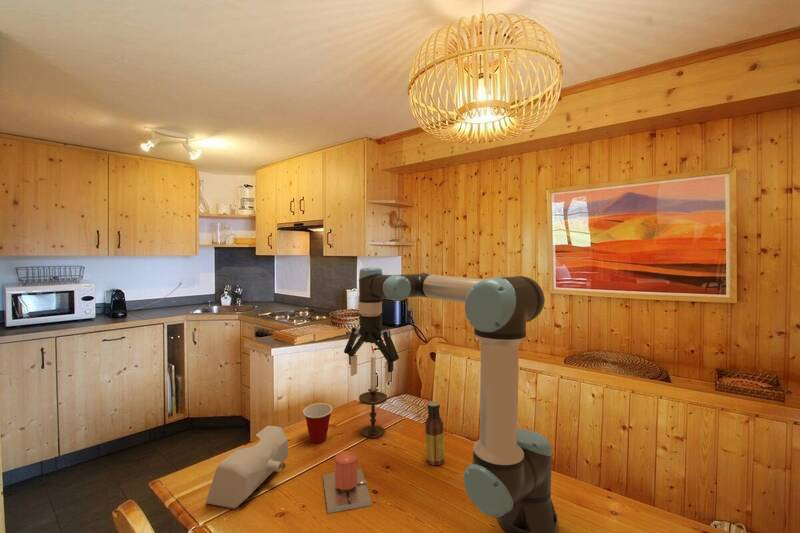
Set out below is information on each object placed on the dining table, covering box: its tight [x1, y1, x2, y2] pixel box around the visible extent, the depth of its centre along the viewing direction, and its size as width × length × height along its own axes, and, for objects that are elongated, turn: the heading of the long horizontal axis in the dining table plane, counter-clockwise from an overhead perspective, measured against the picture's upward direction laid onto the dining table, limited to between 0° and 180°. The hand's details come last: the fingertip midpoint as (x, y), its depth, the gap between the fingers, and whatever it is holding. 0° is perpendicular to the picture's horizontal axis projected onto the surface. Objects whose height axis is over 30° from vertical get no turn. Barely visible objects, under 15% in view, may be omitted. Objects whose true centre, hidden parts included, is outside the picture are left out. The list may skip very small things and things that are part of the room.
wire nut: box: [334, 450, 358, 490], centre depth 111 cm, size 6×6×8 cm
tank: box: [205, 425, 289, 510], centre depth 115 cm, size 25×16×12 cm, turn 167°
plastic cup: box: [302, 402, 333, 445], centre depth 141 cm, size 11×11×12 cm
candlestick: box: [358, 343, 388, 440], centre depth 146 cm, size 11×11×35 cm
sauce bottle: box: [424, 401, 445, 466], centre depth 127 cm, size 6×6×20 cm
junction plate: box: [322, 468, 372, 514], centre depth 111 cm, size 16×12×10 cm
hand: (370, 378), depth 125 cm, fingers open, 13 cm apart
